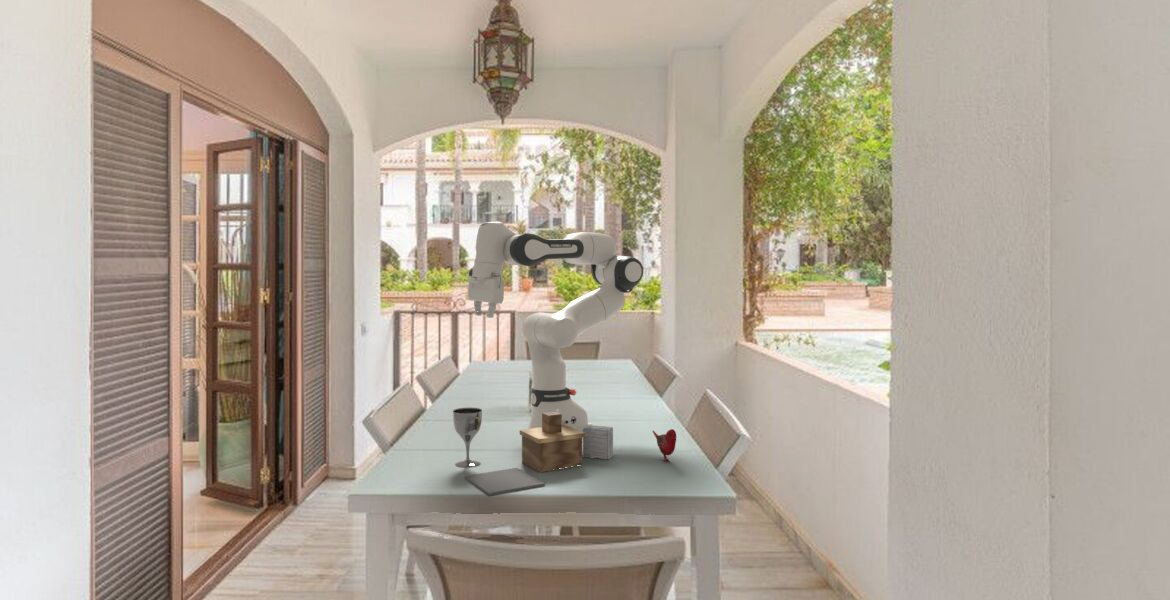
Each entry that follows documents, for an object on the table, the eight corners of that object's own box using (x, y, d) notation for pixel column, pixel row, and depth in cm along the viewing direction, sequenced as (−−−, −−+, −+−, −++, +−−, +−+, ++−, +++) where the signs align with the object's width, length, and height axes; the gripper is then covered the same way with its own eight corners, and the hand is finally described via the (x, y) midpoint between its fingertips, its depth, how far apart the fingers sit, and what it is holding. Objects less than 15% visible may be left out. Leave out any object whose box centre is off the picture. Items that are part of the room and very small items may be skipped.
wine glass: (469, 469, 194) (468, 414, 193) (447, 465, 198) (446, 411, 197) (488, 462, 201) (487, 409, 200) (466, 458, 205) (466, 406, 204)
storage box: (562, 456, 207) (562, 429, 207) (582, 465, 198) (582, 437, 197) (522, 462, 201) (522, 434, 200) (539, 472, 191) (539, 443, 191)
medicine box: (613, 456, 208) (613, 426, 207) (608, 460, 204) (609, 430, 203) (587, 453, 210) (587, 424, 210) (582, 457, 206) (582, 427, 206)
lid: (563, 431, 208) (563, 407, 207) (584, 440, 197) (584, 414, 197) (519, 437, 201) (519, 412, 200) (539, 447, 190) (538, 420, 190)
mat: (517, 469, 194) (517, 467, 194) (544, 485, 180) (544, 483, 180) (464, 478, 186) (464, 475, 186) (488, 495, 173) (488, 493, 173)
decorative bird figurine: (670, 467, 196) (670, 431, 196) (647, 451, 213) (648, 417, 213) (680, 467, 197) (680, 430, 196) (657, 450, 214) (657, 417, 213)
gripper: (510, 274, 218) (506, 319, 218) (484, 273, 236) (480, 315, 236) (491, 272, 215) (487, 318, 215) (466, 271, 233) (462, 313, 233)
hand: (483, 316), depth 226 cm, fingers open, 8 cm apart
